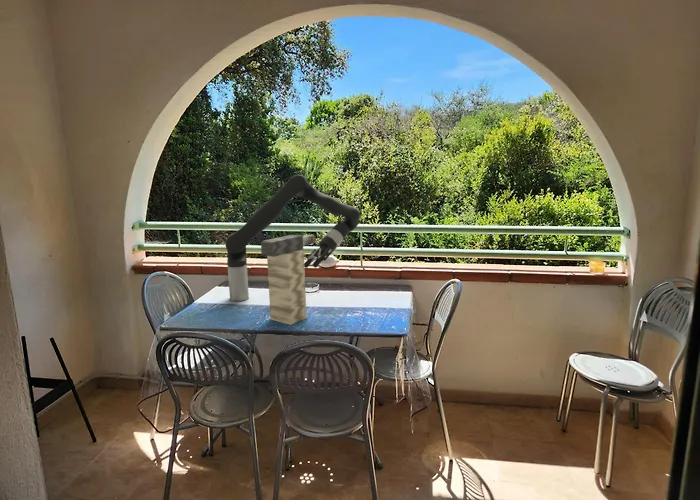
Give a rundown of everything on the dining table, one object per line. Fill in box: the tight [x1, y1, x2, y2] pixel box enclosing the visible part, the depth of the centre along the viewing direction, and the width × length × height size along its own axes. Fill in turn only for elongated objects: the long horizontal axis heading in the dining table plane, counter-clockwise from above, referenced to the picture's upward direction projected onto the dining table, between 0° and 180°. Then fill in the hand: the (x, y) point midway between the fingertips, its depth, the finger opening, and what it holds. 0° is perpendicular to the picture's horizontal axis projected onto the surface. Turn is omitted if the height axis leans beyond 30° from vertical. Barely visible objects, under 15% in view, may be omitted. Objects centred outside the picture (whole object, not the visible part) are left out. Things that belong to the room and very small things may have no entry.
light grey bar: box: [302, 234, 315, 247], centre depth 195 cm, size 24×4×4 cm, turn 144°
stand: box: [260, 234, 307, 326], centre depth 193 cm, size 19×12×36 cm, turn 144°
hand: (309, 266), depth 199 cm, fingers open, 8 cm apart
